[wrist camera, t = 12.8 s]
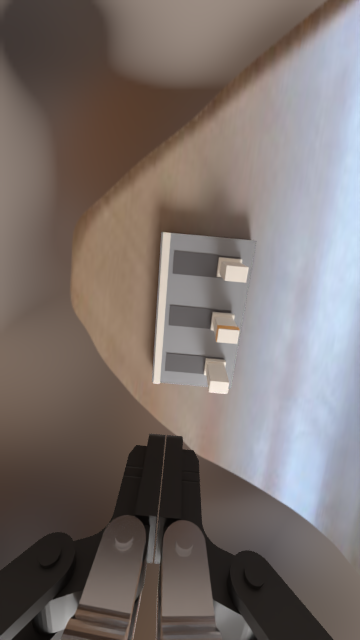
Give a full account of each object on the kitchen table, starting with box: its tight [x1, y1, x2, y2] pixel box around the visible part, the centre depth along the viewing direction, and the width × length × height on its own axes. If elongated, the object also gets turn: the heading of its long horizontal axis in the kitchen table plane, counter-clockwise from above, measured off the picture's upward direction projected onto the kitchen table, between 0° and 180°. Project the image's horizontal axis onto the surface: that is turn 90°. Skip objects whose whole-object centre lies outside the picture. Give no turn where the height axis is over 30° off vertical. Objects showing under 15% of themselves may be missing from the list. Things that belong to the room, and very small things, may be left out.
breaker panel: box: [152, 232, 256, 394], centre depth 29 cm, size 18×10×7 cm, turn 175°
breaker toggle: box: [210, 312, 240, 344], centre depth 28 cm, size 2×2×5 cm
